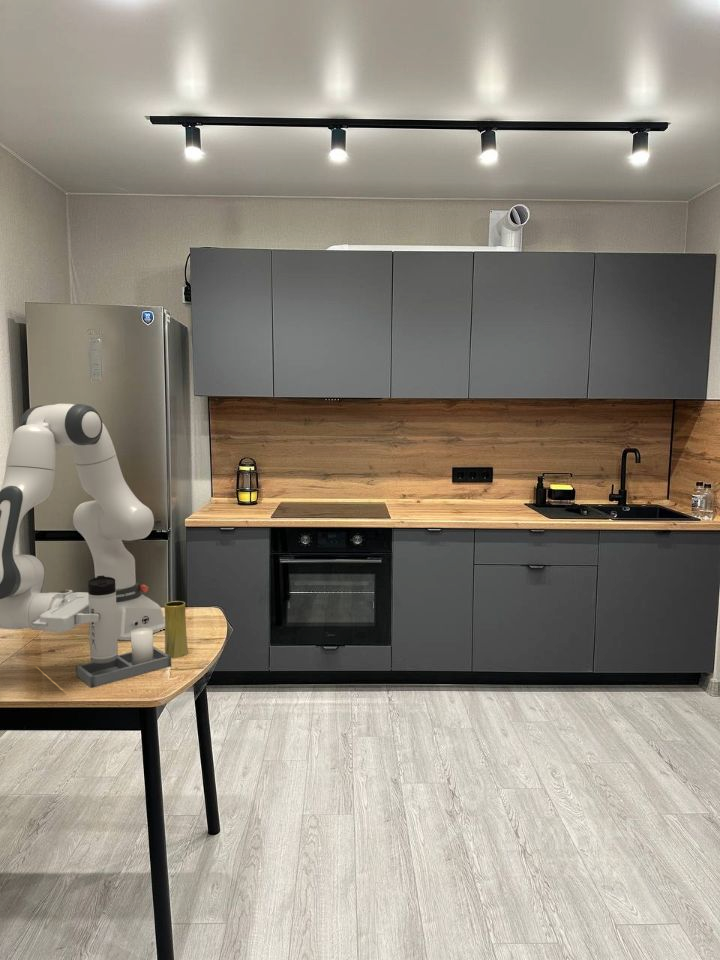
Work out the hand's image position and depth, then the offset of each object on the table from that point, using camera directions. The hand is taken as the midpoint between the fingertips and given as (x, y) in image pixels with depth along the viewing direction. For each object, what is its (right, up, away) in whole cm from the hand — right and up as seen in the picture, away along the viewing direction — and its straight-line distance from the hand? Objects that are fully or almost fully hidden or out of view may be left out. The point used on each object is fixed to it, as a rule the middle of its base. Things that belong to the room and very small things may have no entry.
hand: (106, 612), depth 161 cm
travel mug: (-1, -12, +1) cm, 12 cm away
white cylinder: (+6, -15, +8) cm, 18 cm away
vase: (+13, -15, +17) cm, 26 cm away
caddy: (+3, -16, +5) cm, 17 cm away
